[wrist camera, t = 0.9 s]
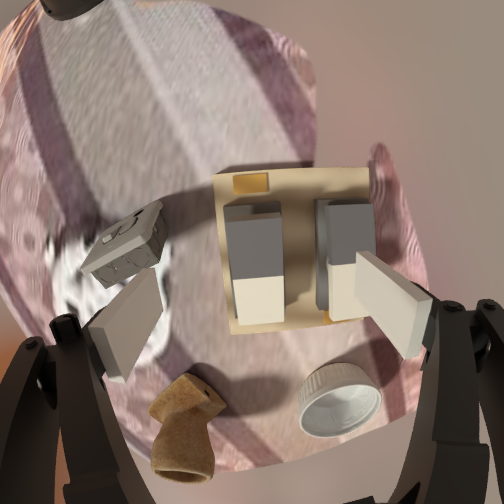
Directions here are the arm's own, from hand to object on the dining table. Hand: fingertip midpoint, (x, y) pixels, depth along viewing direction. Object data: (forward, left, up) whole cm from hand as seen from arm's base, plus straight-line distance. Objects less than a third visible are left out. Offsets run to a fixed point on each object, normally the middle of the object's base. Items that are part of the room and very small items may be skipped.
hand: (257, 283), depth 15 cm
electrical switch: (0, -14, -18) cm, 23 cm away
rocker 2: (+4, +10, -13) cm, 17 cm away
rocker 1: (+4, 0, -13) cm, 13 cm away
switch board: (+4, +5, -18) cm, 19 cm away
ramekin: (+28, +11, -19) cm, 35 cm away
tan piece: (+30, -13, -18) cm, 37 cm away
